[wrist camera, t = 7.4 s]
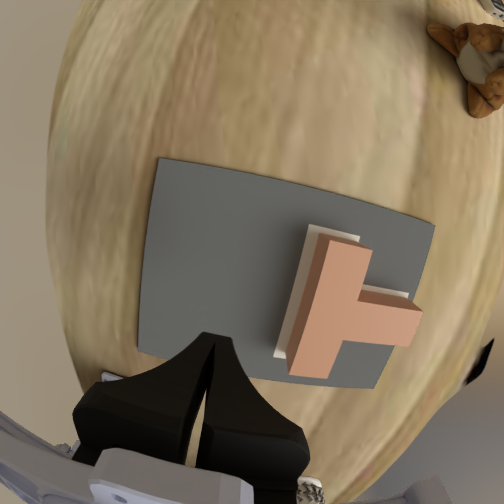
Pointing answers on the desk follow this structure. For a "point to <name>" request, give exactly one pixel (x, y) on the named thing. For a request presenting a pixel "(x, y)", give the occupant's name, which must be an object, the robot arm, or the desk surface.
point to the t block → (344, 309)
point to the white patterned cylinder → (309, 491)
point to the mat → (261, 266)
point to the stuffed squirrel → (477, 62)
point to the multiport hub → (494, 8)
